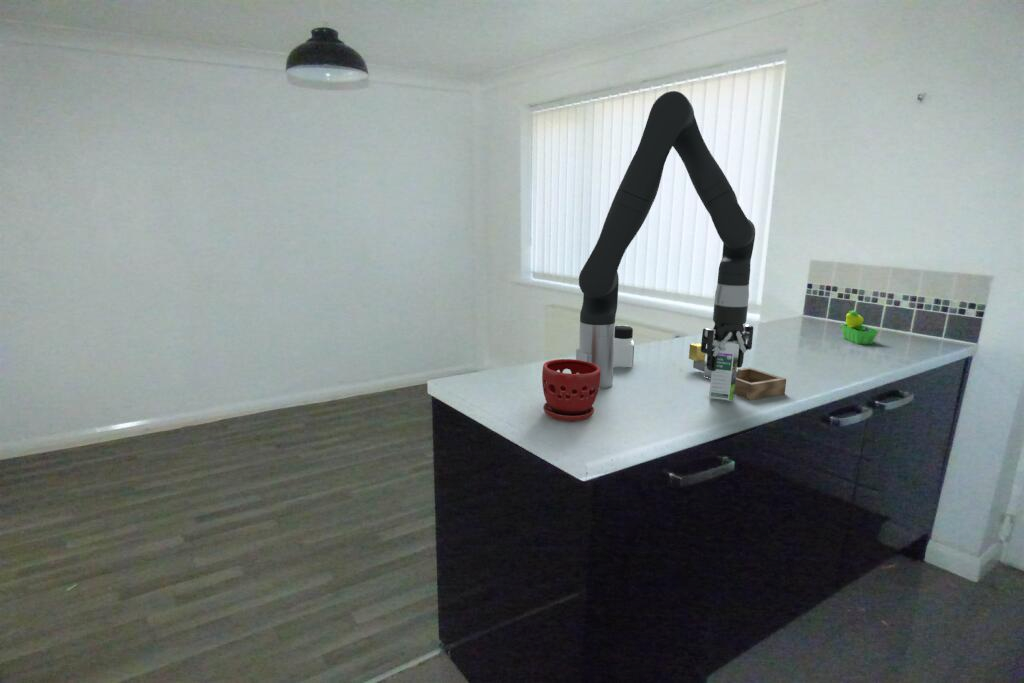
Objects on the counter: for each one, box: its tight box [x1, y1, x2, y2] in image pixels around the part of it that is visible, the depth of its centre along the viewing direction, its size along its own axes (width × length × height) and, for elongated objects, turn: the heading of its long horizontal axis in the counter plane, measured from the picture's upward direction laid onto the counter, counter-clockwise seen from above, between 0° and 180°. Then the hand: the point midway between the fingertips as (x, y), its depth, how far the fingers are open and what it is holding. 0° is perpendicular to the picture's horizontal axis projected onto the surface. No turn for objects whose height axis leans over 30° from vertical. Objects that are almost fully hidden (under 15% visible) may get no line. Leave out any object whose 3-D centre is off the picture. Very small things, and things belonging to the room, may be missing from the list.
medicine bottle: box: [613, 324, 635, 369], centre depth 169 cm, size 7×7×12 cm
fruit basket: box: [840, 310, 879, 345], centre depth 199 cm, size 11×9×11 cm
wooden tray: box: [734, 367, 787, 401], centre depth 145 cm, size 12×12×4 cm
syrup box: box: [708, 340, 739, 402], centre depth 136 cm, size 6×6×14 cm
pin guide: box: [703, 366, 738, 380], centre depth 154 cm, size 5×8×3 cm, turn 24°
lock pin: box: [688, 342, 707, 372], centre depth 159 cm, size 3×11×7 cm, turn 24°
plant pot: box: [541, 358, 601, 423], centre depth 126 cm, size 13×13×12 cm
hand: (724, 368), depth 136 cm, fingers closed on syrup box, 8 cm apart
